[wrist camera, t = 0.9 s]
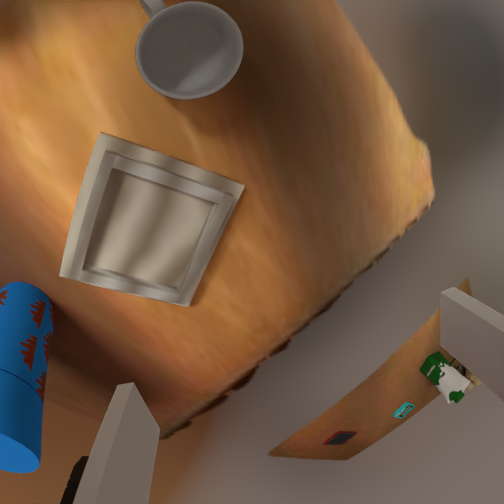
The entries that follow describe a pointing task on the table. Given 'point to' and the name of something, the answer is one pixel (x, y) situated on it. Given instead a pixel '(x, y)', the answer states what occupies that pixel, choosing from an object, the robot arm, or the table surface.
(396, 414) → the handheld gaming console
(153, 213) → the grey square tray
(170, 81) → the teacup
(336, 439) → the cell phone
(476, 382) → the owl figurine
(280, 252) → the table surface
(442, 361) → the milk carton
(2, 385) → the thermos
